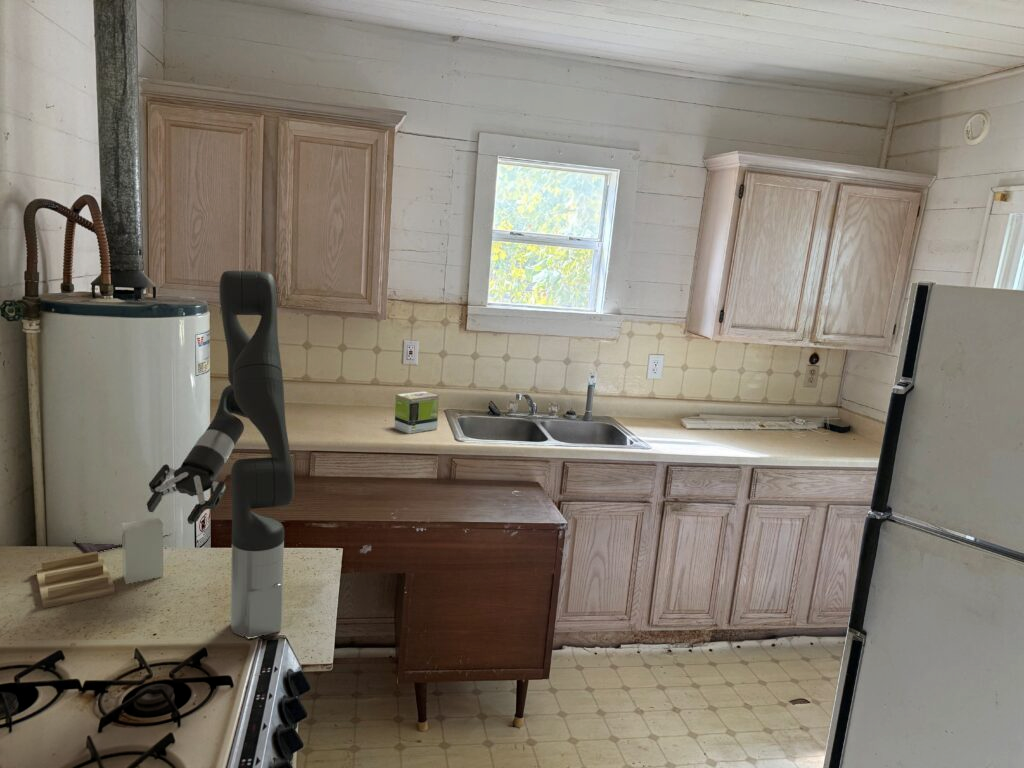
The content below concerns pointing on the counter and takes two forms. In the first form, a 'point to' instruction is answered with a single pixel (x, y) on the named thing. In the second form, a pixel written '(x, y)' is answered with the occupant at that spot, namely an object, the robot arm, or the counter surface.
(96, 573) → the rack
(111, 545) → the chocolate bar
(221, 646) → the counter surface
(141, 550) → the clay slab
